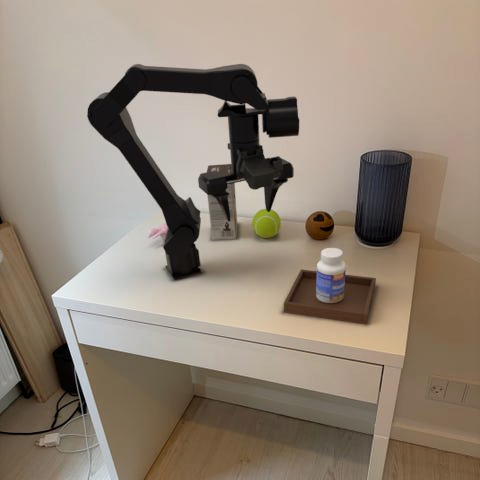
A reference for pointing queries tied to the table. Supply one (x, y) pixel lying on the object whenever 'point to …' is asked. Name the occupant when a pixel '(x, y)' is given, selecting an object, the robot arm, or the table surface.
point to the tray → (347, 309)
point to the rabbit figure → (159, 231)
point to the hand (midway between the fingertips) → (248, 216)
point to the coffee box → (217, 218)
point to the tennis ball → (266, 223)
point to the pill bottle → (330, 276)
